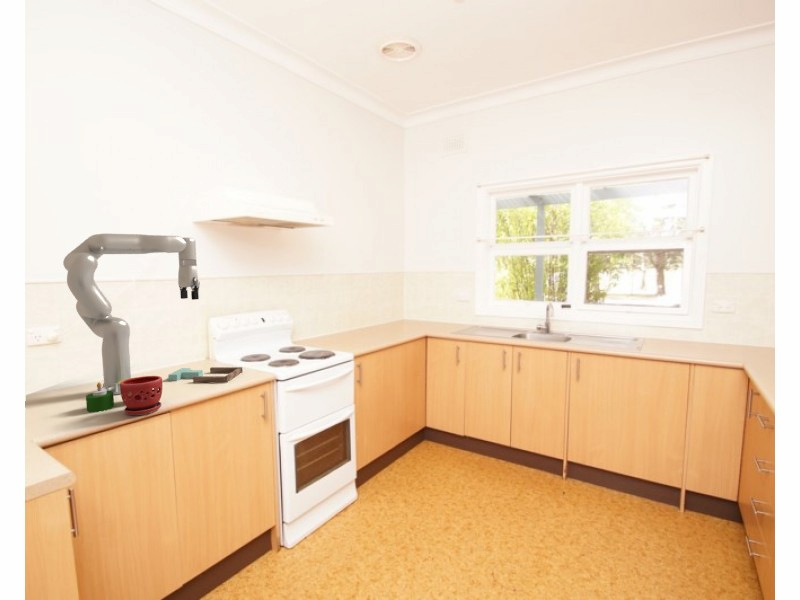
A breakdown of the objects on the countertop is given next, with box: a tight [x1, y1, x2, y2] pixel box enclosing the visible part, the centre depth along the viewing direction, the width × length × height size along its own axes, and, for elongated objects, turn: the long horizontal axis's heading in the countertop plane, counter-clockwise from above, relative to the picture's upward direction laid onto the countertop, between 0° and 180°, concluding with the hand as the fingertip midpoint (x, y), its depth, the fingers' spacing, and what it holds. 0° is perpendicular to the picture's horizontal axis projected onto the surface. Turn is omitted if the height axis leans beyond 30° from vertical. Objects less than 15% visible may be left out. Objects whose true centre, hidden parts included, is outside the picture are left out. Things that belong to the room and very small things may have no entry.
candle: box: [85, 382, 115, 413], centre depth 153 cm, size 8×8×10 cm
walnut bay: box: [192, 366, 243, 383], centre depth 195 cm, size 18×16×2 cm
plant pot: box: [120, 375, 163, 416], centre depth 150 cm, size 13×13×12 cm
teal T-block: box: [168, 367, 204, 382], centre depth 195 cm, size 12×12×3 cm
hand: (189, 298), depth 198 cm, fingers open, 9 cm apart
